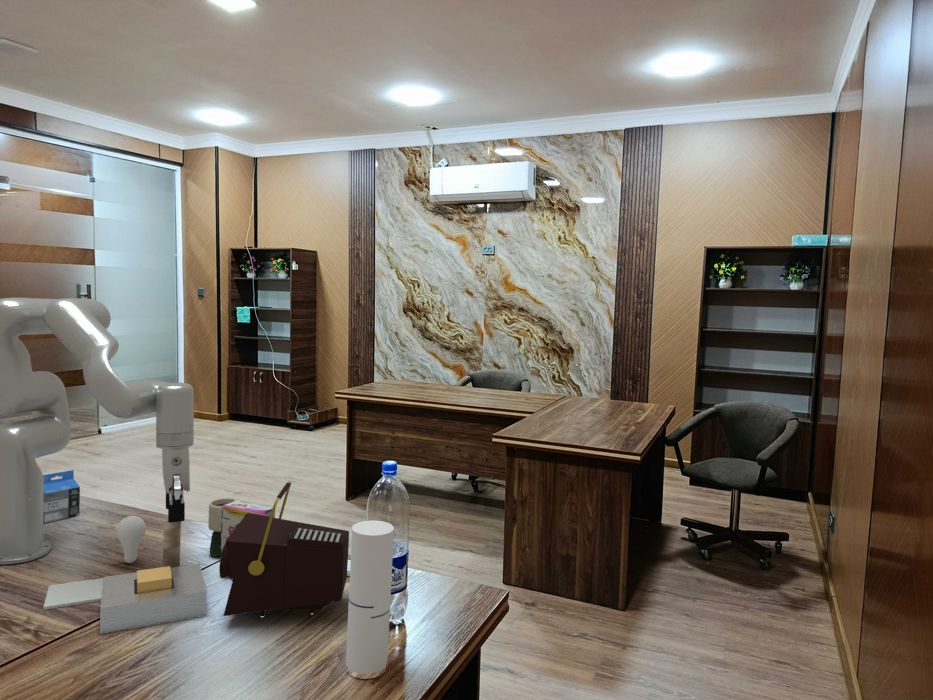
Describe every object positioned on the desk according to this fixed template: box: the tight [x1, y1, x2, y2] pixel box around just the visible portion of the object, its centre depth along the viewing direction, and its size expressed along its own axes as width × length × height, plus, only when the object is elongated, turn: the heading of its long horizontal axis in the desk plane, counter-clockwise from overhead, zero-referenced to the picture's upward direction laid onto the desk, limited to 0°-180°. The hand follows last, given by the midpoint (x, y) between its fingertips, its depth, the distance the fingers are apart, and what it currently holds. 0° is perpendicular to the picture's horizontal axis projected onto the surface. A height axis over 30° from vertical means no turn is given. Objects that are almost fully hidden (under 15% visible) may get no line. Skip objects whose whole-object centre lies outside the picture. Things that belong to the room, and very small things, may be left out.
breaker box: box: [99, 563, 208, 635], centre depth 123 cm, size 18×14×5 cm
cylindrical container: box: [345, 520, 395, 674], centre depth 107 cm, size 7×7×25 cm
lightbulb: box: [115, 515, 147, 564], centre depth 143 cm, size 6×6×11 cm
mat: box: [42, 577, 103, 611], centre depth 127 cm, size 10×10×1 cm
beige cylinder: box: [162, 520, 182, 568], centre depth 138 cm, size 4×4×12 cm
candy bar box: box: [221, 499, 276, 579], centre depth 139 cm, size 11×5×16 cm, turn 71°
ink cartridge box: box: [43, 469, 81, 525], centre depth 168 cm, size 9×4×12 cm, turn 147°
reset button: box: [136, 566, 172, 594], centre depth 123 cm, size 6×6×3 cm
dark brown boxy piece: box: [218, 480, 350, 617], centre depth 126 cm, size 16×23×25 cm
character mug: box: [207, 497, 240, 557], centre depth 151 cm, size 11×7×13 cm, turn 51°
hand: (174, 514), depth 138 cm, fingers open, 9 cm apart
